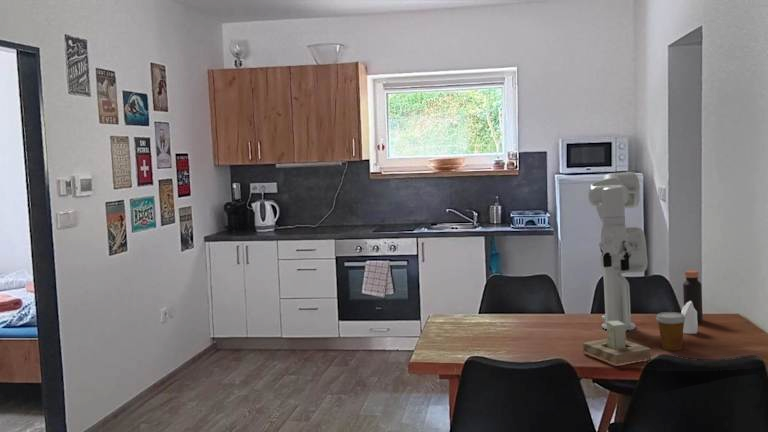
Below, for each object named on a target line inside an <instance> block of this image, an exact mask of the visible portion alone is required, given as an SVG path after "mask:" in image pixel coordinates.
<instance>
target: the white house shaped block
mask: <svg viewBox="0 0 768 432" xmlns="http://www.w3.org/2000/svg"><path fill="white" fill-rule="evenodd" d="M680 313H682V314H683V315H684V317H685V321H684V328H683V334H690V335H693V334H698V323H699V322H697V311H696V310H695V308H694V307H693V303H692V301H688V302H687V303H686V304H685V305H684V304H683V306H682V308H681V312H680Z"/></svg>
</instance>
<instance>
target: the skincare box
mask: <svg viewBox="0 0 768 432" xmlns="http://www.w3.org/2000/svg"><path fill="white" fill-rule="evenodd" d="M626 332H627V331H625V324H624V323H622V322H620V321H618V320H617V321H607V330H606V339H607V348H610V349H612V350H617V349H622V348H626V340H627V339H626V338H627V336H626Z"/></svg>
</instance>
